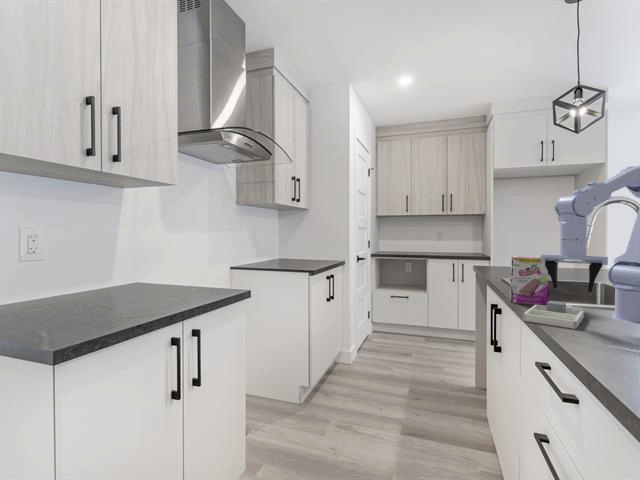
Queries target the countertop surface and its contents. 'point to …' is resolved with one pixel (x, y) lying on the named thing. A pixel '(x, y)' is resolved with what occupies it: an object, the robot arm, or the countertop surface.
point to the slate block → (556, 306)
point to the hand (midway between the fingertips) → (572, 289)
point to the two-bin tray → (554, 317)
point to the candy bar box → (529, 281)
